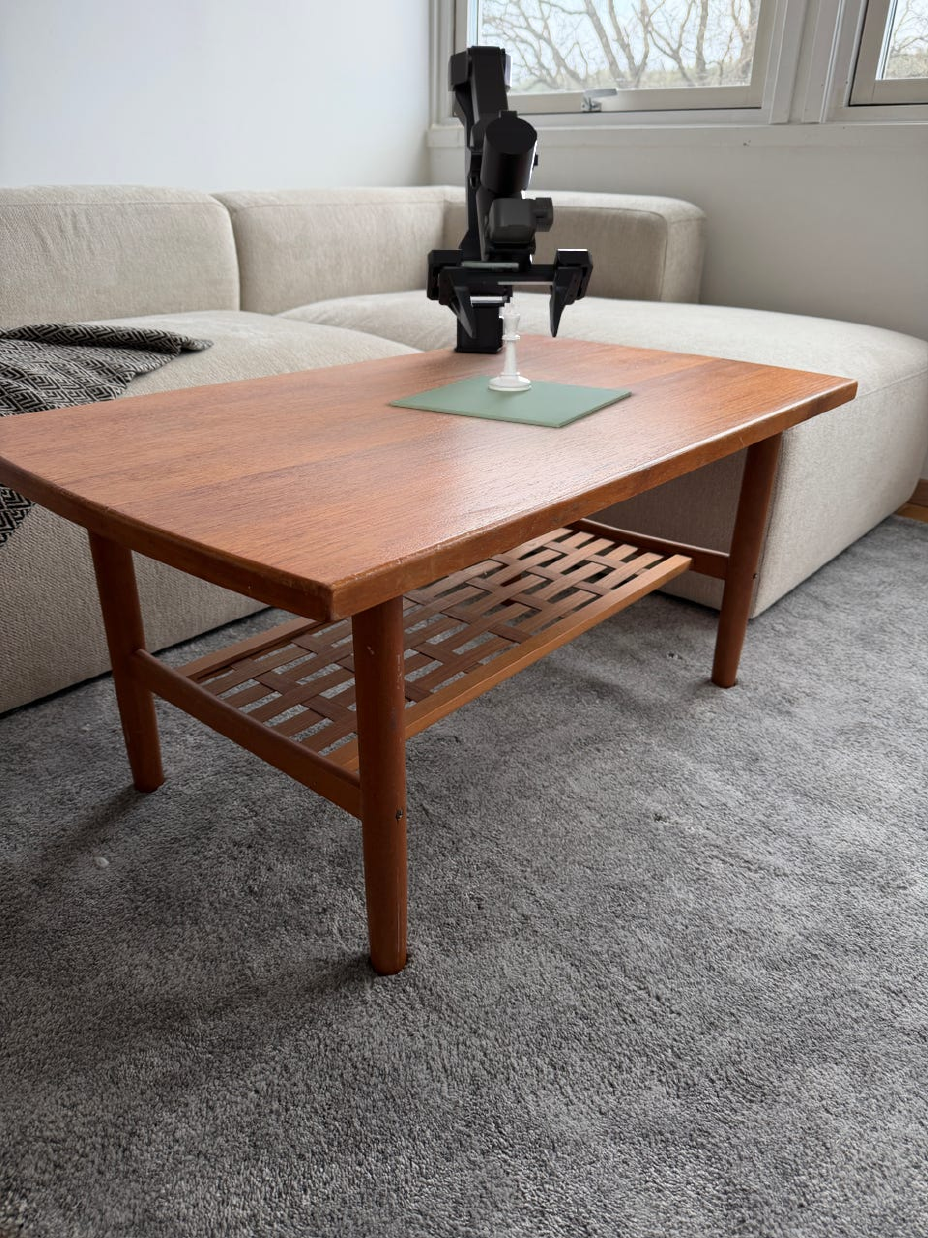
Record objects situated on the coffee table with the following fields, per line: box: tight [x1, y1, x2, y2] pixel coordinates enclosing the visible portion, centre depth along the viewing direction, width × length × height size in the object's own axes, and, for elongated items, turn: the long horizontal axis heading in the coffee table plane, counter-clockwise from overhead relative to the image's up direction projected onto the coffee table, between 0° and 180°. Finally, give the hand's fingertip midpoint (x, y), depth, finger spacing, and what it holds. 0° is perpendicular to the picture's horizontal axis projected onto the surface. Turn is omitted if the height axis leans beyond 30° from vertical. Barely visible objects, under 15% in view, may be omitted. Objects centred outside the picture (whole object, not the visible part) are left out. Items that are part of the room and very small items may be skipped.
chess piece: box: [489, 296, 531, 392], centre depth 105 cm, size 5×5×10 cm
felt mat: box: [390, 374, 632, 428], centre depth 102 cm, size 20×20×1 cm
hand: (514, 335), depth 102 cm, fingers open, 9 cm apart
